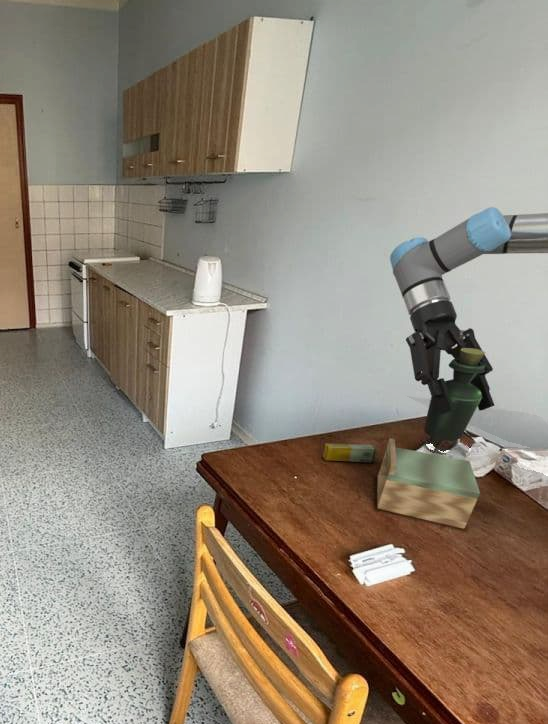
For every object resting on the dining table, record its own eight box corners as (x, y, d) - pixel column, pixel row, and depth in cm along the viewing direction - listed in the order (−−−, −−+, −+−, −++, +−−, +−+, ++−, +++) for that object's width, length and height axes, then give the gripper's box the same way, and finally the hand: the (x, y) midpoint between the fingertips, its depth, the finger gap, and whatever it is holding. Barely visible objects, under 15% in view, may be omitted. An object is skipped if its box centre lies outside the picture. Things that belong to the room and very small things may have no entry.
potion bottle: (475, 442, 95) (510, 356, 87) (436, 444, 95) (469, 358, 86) (445, 424, 102) (476, 343, 94) (410, 426, 102) (437, 345, 93)
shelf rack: (455, 494, 109) (472, 453, 103) (464, 528, 98) (484, 484, 93) (377, 477, 115) (389, 438, 110) (377, 508, 104) (391, 466, 99)
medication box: (369, 458, 123) (372, 444, 122) (373, 463, 121) (377, 448, 119) (321, 456, 124) (324, 442, 123) (325, 460, 122) (328, 446, 120)
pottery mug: (423, 440, 133) (448, 418, 128) (453, 463, 129) (480, 442, 125) (419, 446, 123) (446, 423, 119) (451, 471, 120) (480, 449, 116)
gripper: (458, 315, 104) (496, 412, 97) (372, 321, 101) (405, 420, 94) (489, 295, 96) (531, 398, 90) (397, 301, 94) (434, 407, 87)
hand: (467, 409), depth 92 cm, fingers closed on potion bottle, 8 cm apart
